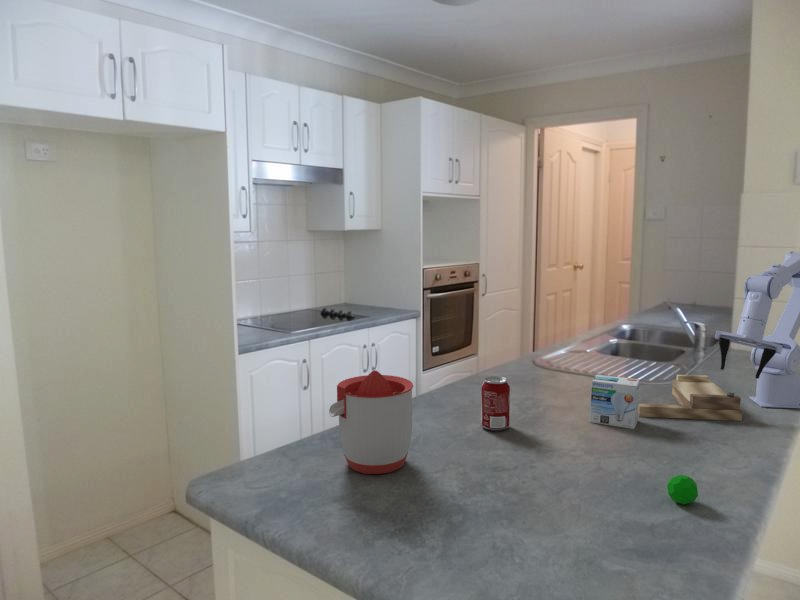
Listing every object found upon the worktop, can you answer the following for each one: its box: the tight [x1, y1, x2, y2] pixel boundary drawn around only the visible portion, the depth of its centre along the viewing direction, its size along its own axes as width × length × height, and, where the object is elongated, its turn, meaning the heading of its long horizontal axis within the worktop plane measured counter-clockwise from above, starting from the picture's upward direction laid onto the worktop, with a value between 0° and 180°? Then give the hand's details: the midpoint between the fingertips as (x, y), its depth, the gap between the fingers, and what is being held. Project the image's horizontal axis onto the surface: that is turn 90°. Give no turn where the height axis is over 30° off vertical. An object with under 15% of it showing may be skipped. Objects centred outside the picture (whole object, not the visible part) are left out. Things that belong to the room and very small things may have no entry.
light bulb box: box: [589, 374, 641, 430], centre depth 144 cm, size 11×7×11 cm, turn 62°
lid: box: [671, 374, 728, 402], centre depth 156 cm, size 10×16×3 cm, turn 171°
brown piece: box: [638, 385, 743, 422], centre depth 156 cm, size 24×19×3 cm
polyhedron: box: [666, 474, 699, 505], centre depth 104 cm, size 5×5×5 cm
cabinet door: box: [690, 392, 742, 410], centre depth 146 cm, size 11×2×4 cm, turn 81°
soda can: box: [480, 375, 511, 432], centre depth 141 cm, size 7×7×12 cm
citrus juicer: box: [328, 370, 414, 475], centre depth 120 cm, size 16×17×20 cm
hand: (739, 373), depth 145 cm, fingers open, 7 cm apart
